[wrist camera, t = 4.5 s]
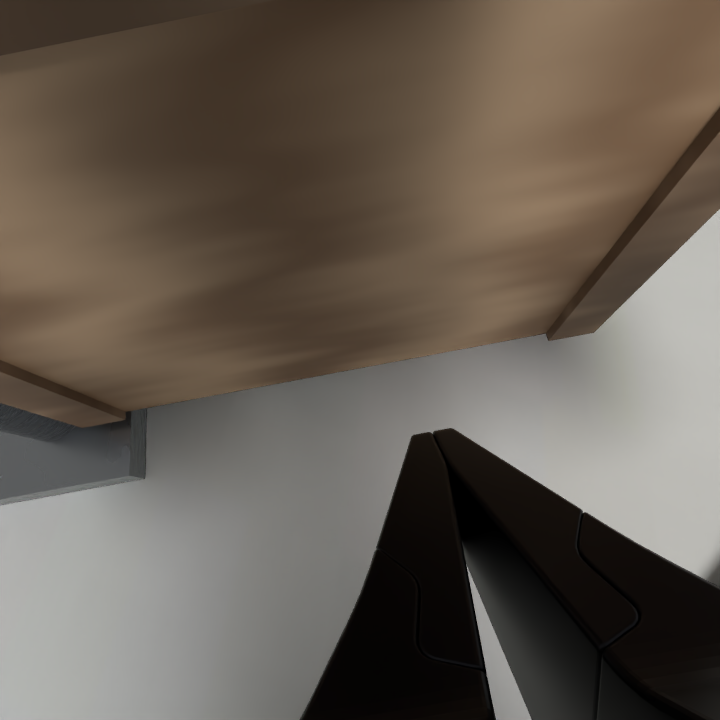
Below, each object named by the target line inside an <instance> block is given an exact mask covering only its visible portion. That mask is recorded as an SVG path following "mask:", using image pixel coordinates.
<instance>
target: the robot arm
mask: <svg viewBox="0 0 720 720" xmlns="http://www.w3.org/2000/svg"><path fill="white" fill-rule="evenodd" d="M466 564H467V566H468V569H469V571H470V574H471V576H472V578H473V581H474V583H475V585H476V588H477V590H478V593H479V595H480V597H481V600H482V602H483V605H484V607H485V609H486V612H487V614H488V616H489V619H490V621H491V624H492V626H493V628H494V631H495V633H496V635H497V638H498V640H499V643H500V645H501V647H502V650H503V652H504V654H505V657H506V659H507V662H508V664H509V666H510V669H511V671H512V673H513V676H514V678H515V681H516V683H517V685H518V688H519V690H520V693H521V695H522V697H523V700H524V702H525V704H526V707H527V709H528V712H529V714H530V716H531V719H532V720H720V587H718V586H716V585H715V584H713V583H711V582H709V581H707V580H705V579H703V578H701V577H699V576H697V575H695V574H693V573H692V572H690V571H688V570H686V569H684V568H682V567H680V566H678V565H676V564H674V563H672V562H671V561H669V560H667V559H665V558H663V557H661V556H660V555H658V554H656V553H654V552H652V551H650V550H649V549H647V548H645V547H643V546H641V545H639V544H638V543H636V542H634V541H632V540H631V539H629V538H627V537H626V536H624V535H622V534H621V533H619V532H617V531H616V530H614V529H612V528H611V527H609V526H607V525H606V524H604V523H603V522H601V521H599V520H598V519H596V518H595V517H593V516H591V515H590V514H588V513H586V512H585V513H583V511H582V510H581V509H580V508H578V507H577V506H575V505H574V504H572V503H570V502H569V501H567V500H566V499H564V498H562V497H561V496H559V495H558V494H556V493H555V492H553V491H551V490H550V489H548V488H547V487H545V486H543V485H542V484H540V483H539V482H537V481H535V480H534V479H532V478H531V477H529V476H527V475H526V474H524V473H523V472H521V471H520V470H518V469H516V468H515V467H513V466H512V465H510V464H508V463H507V462H505V461H504V460H502V459H500V458H499V457H497V456H496V455H494V454H493V453H491V452H489V451H488V450H486V449H485V448H483V447H481V446H480V445H478V444H477V443H475V442H473V441H472V440H470V439H469V438H467V437H466V436H464V435H462V434H461V433H459V432H458V431H456V430H454V429H452V428H448V429H443V430H438V431H434V432H433V434H432V433H430V432H427V433H421V434H416V435H413V436H412V437H411V440H410V443H409V446H408V449H407V452H406V455H405V459H404V462H403V465H402V468H401V471H400V474H399V477H398V481H397V484H396V487H395V490H394V493H393V496H392V499H391V503H390V506H389V509H388V512H387V515H386V518H385V521H384V524H383V528H382V531H381V534H380V537H379V540H378V543H377V546H376V550H375V552H374V555H373V558H372V561H371V565H370V568H369V570H368V573H367V576H366V579H365V581H364V584H363V587H362V590H361V592H360V595H359V597H358V599H357V602H356V604H355V606H354V608H353V611H352V613H351V615H350V617H349V620H348V622H347V624H346V626H345V628H344V630H343V632H342V634H341V637H340V639H339V641H338V643H337V645H336V647H335V649H334V651H333V653H332V655H331V657H330V659H329V661H328V664H327V666H326V668H325V670H324V672H323V674H322V676H321V678H320V680H319V682H318V684H317V686H316V688H315V691H314V693H313V695H312V697H311V699H310V701H309V703H308V705H307V707H306V709H305V711H304V713H303V715H302V717H301V718H300V720H496V718H495V713H494V709H493V704H492V699H491V694H490V689H489V684H488V679H487V676H486V668H485V662H484V657H483V652H482V646H481V641H480V636H479V630H478V625H477V620H476V614H475V609H474V604H473V598H472V593H471V588H470V582H469V577H468V572H467V566H466Z"/></svg>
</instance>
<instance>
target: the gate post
mask: <svg viewBox="0 0 720 720" xmlns="http://www.w3.org/2000/svg"><path fill="white" fill-rule="evenodd" d="M145 447H146V408H144V409H139V410H133V411H128V412H126V419H125V420H122V421H117V422H112V423H106V424H101V425H96V426H90V427H85V428H80V427H77V426H74V425H71V424H67V423H64V422H61V421H58V420H54V419H51V418H48V417H44V416H41V415H38V414H35V413H31V412H28V411H25V410H22V409H18V408H15V407H12V406H8V405H5V404H2V403H0V505H4V504H9V503H15V502H20V501H26V500H31V499H37V498H42V497H48V496H53V495H58V494H64V493H69V492H75V491H80V490H86V489H91V488H97V487H102V486H107V485H113V484H118V483H124V482H129V481H135V480H140V479H145Z"/></svg>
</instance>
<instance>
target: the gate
mask: <svg viewBox="0 0 720 720" xmlns="http://www.w3.org/2000/svg"><path fill="white" fill-rule="evenodd" d="M719 209H720V0H0V403H2V404H5V405H8V406H12V407H15V408H18V409H22V410H25V411H28V412H31V413H35V414H38V415H41V416H44V417H48V418H51V419H54V420H58V421H61V422H64V423H67V424H71V425H74V426H77V427H80V428H85V427H90V426H96V425H101V424H106V423H112V422H117V421H122V420H125V419H126V412H128V411H133V410H139V409H144V408H149V407H155V406H160V405H165V404H171V403H176V402H181V401H187V400H192V399H197V398H203V397H208V396H213V395H219V394H224V393H230V392H235V391H240V390H246V389H251V388H256V387H262V386H267V385H272V384H278V383H283V382H288V381H294V380H299V379H304V378H310V377H315V376H320V375H326V374H331V373H337V372H342V371H347V370H353V369H358V368H363V367H369V366H374V365H379V364H385V363H390V362H395V361H401V360H406V359H411V358H417V357H422V356H428V355H433V354H438V353H444V352H449V351H454V350H460V349H465V348H470V347H476V346H481V345H486V344H492V343H497V342H502V341H508V340H513V339H519V338H524V337H529V336H535V335H540V334H545V333H546V335H547V338H548V340H549V341H551V340H557V339H562V338H567V337H573V336H578V335H583V334H589V333H594V332H595V331H596V330H597V329H598V328H599V327H600V326H601V325H602V324H603V323H604V322H605V321H606V320H607V319H608V318H609V317H610V316H611V315H612V314H613V313H614V312H615V311H616V310H617V309H618V308H619V307H620V306H621V305H622V304H623V303H624V302H625V301H626V300H627V299H628V298H629V297H630V296H632V295H633V294H634V293H635V292H636V291H637V290H638V289H639V288H640V287H641V286H642V285H643V284H644V283H645V282H646V281H647V280H648V279H649V278H650V277H651V276H652V275H653V274H654V273H655V272H656V271H657V270H658V269H659V268H660V267H661V266H662V265H663V264H664V263H665V262H666V261H667V260H668V259H669V258H670V257H671V256H672V255H673V254H674V253H675V252H676V251H677V250H678V249H679V248H680V247H681V246H682V245H683V244H684V243H685V242H686V241H687V240H688V239H689V238H690V237H691V236H692V235H693V234H694V233H696V232H697V231H698V230H699V229H700V228H701V227H702V226H703V225H704V224H705V223H706V222H707V221H708V220H709V219H710V218H711V217H712V216H713V215H714V214H715V213H716V212H717V211H718V210H719Z"/></svg>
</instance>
